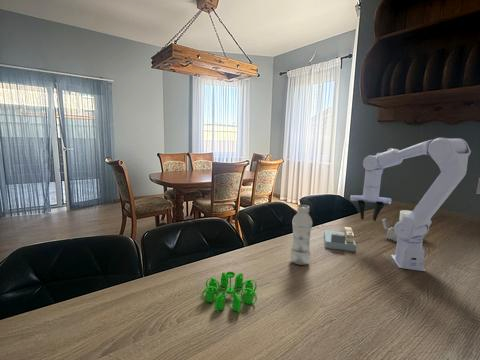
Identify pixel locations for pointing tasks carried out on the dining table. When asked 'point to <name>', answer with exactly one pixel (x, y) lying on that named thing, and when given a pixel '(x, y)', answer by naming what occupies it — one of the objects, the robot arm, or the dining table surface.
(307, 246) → the plastic bottle
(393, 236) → the lighter
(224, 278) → the chandelier
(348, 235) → the folding leg
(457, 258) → the dining table surface
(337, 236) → the blue-grey block
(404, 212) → the white cup
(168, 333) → the dining table surface
